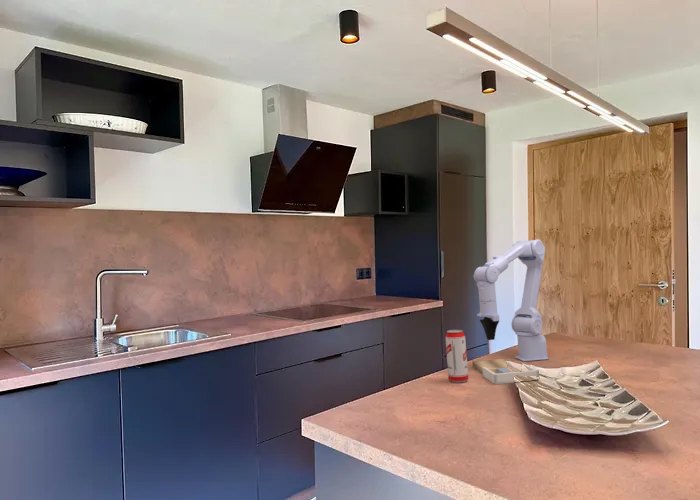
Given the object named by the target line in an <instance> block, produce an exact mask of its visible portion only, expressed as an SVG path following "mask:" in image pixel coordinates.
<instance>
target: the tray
mask: <svg viewBox="0 0 700 500" xmlns="http://www.w3.org/2000/svg"><path fill="white" fill-rule="evenodd" d="M522 365H524V366H525V367H526V368H527V369H528V370H529V371H522V372H511V373H500V374H498V373H494V372H492V371H491V370H489V369H487V368H486V367H482V369H483V374H482V377H483V378H485V379H486V380H488V381H490V382H491V383H492V384H493V385H503V384H504V385H505V384H514V379H513V376H514V375H519V376H536V377H539V378H540V370H538V369H537V368H534V367H532V366H531V365H528V364H526V363H524V362H523V363H521V366H522Z"/></svg>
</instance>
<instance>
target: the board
mask: <svg viewBox="0 0 700 500" xmlns="http://www.w3.org/2000/svg"><path fill="white" fill-rule="evenodd" d="M506 361H510V360H509V359H507V358H498V359H497V358H496V359H486V360H474V361H472V362H471V363H472V368H473V367H474V368H473V369H475V370H476V369H477V370H476V371H478V372H479V371H480V372H479V373H481V374H482V375H483V369H482V367H486V368H487V369H489V370H491V371H492V372H494V373H497V368H506V367H507V364H506Z"/></svg>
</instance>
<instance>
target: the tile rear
mask: <svg viewBox="0 0 700 500" xmlns="http://www.w3.org/2000/svg"><path fill="white" fill-rule="evenodd" d="M502 371H509V369H508V367H506V368H497V373H498V374H500V373H502Z"/></svg>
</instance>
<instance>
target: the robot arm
mask: <svg viewBox="0 0 700 500" xmlns="http://www.w3.org/2000/svg"><path fill="white" fill-rule="evenodd" d="M545 254H546V247H545V244H544V243H543V242H542V241H541V239H537V238H536V239H534V240H533V239H531V240H523V241H522V240H519V241H516V242H514V243H513V244H512V246H511V247H510V248H508V250H507V251H506V252H505V253H504V254H502V255H494V256H492V259H490V260H489V261H488V262H485V263H484V265H482V266H478V267H477V268H476V269H475V271H474V273H473V279H474V281H475V282H476V287H477V288H478V301H479V313H477V314H476V316H477V317H480V318H483V319H479V322H480V323H481V326H482V328H483V331H484V333H485V336H486V340H487V341H494V340H495V339H496V332H497V327H498V325H499V323H500V315H499V312H498V305H497V295H496V294H497V293H496V282H497V281H498V279H499V276H500V275H501V274H502V273H504V272H505V271H506V270H507V269H508V268H509V264H510V263H511V262H514V260H516V259H518V260H519V261H520V262H521V263H522V264H523V265H525V266H526V273H525V279H524V280H525V281H524V285H523V286H524V287H523V293H522V298H521V299H522V300H521V303H520V304H521V305H520V307H519V308H518V309H516V310H515V312H514V316H513V318H512V320H511V323H510V325H511V329H512V331H513V332H514V333H515V335H517V347H518V355H515V356H514V358H516V359H518V360H520V361H522V362H529V361H530V362H531V361H541V360H542V361H543V360H549V357H548V349H547V339H546V337H545V335H544V334H542V333H541V332H542V330H543V322H542V321H543V319H542V318H543V315H542V314H541V313H540V312H539V311H538V310H537V306H538V299H539V293H540V288H541V282H542V281H541V280H542V273H543V266H544V261H545V260H544V259H545Z"/></svg>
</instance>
